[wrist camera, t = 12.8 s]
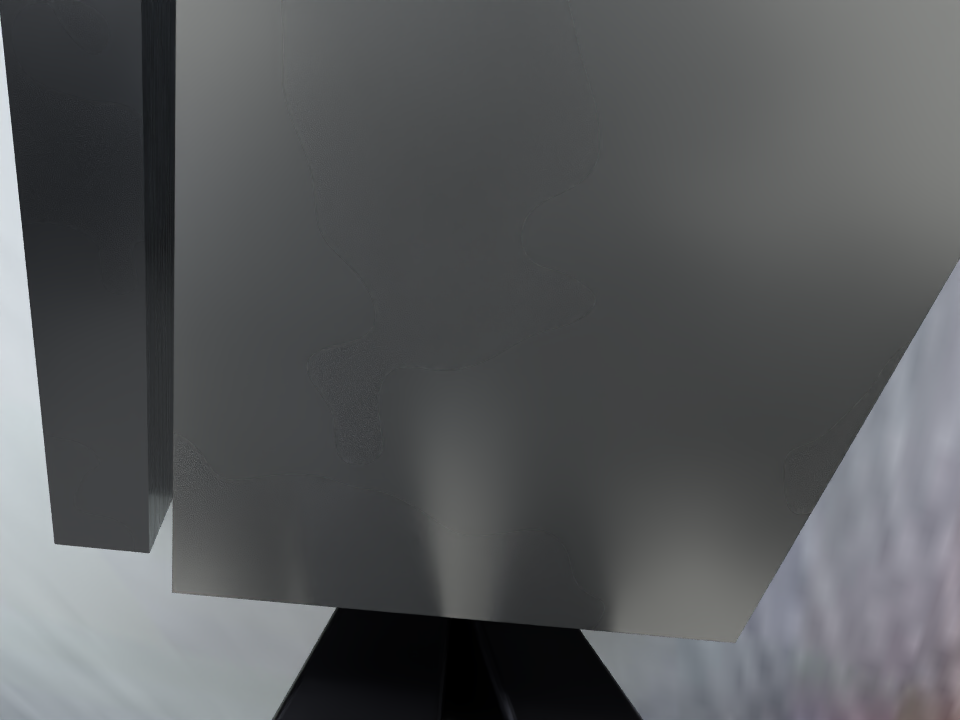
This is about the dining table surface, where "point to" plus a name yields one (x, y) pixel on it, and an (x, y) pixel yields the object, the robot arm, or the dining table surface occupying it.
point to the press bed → (99, 253)
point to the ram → (542, 293)
